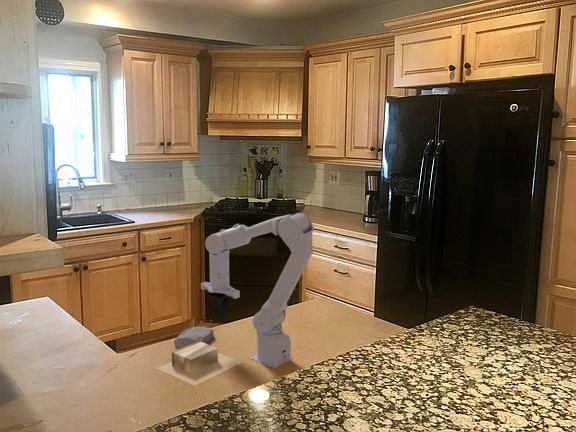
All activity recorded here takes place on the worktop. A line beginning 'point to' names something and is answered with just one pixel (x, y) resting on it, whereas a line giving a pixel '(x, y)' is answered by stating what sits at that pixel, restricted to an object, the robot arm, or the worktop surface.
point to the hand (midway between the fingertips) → (220, 316)
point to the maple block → (194, 356)
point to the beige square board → (201, 370)
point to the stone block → (193, 336)
